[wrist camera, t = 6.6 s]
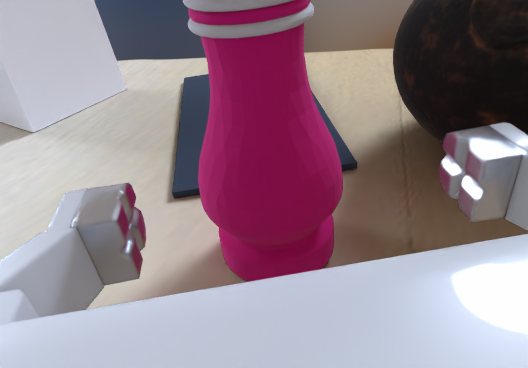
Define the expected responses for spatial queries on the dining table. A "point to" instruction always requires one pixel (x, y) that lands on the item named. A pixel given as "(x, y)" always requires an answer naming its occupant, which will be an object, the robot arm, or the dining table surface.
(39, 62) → the milk
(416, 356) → the robot arm
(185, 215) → the dining table surface
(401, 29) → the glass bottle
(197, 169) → the mat
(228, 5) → the pepper mill
